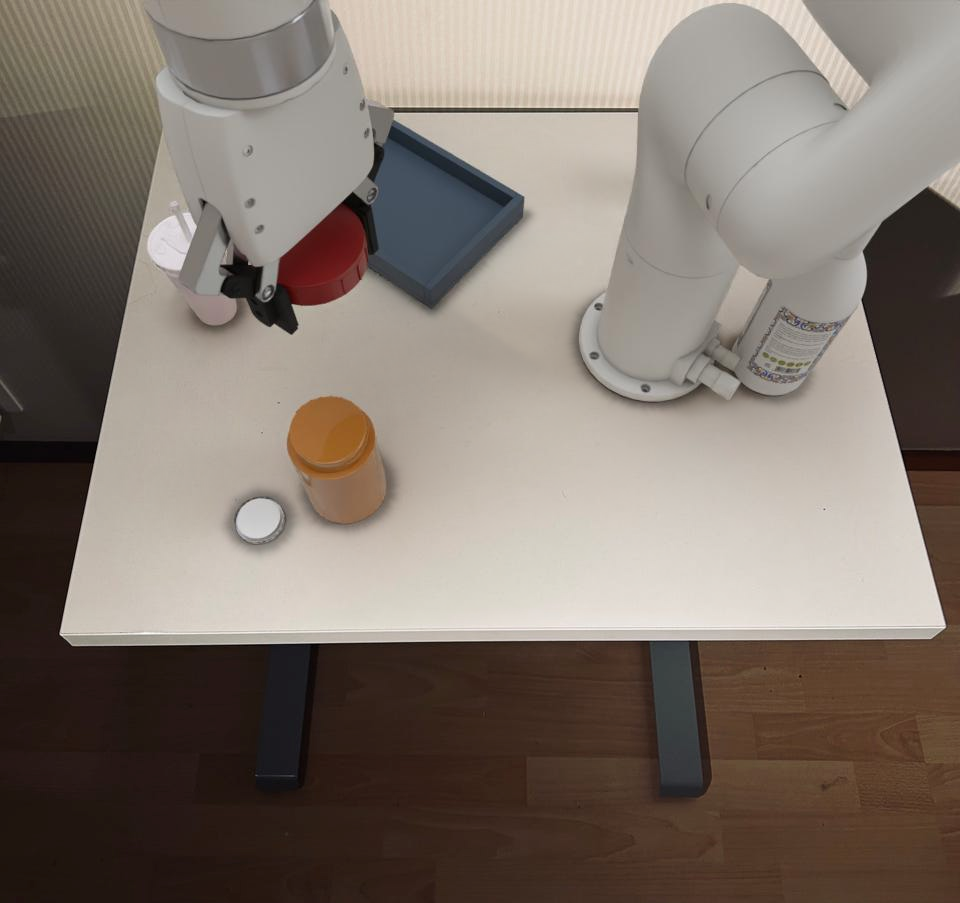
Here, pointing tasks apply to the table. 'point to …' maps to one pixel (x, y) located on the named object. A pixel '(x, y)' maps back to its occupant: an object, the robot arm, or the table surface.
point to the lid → (326, 260)
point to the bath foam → (799, 321)
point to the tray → (434, 215)
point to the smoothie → (168, 257)
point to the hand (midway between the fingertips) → (318, 279)
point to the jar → (337, 459)
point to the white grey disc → (259, 519)
